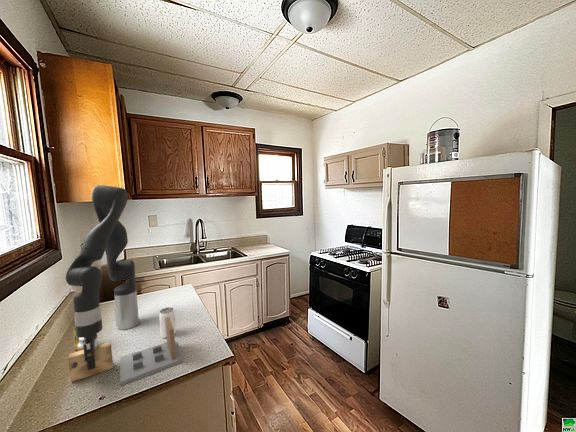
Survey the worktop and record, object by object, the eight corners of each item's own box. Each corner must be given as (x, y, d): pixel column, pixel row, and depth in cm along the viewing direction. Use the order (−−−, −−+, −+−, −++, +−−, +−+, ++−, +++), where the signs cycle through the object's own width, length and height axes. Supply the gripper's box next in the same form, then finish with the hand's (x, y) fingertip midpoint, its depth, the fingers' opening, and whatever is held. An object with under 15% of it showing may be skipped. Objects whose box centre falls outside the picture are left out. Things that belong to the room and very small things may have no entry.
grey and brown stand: (120, 385, 84) (117, 349, 83) (121, 359, 97) (118, 328, 96) (182, 361, 95) (180, 329, 94) (175, 342, 108) (173, 313, 107)
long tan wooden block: (70, 384, 85) (67, 359, 85) (72, 377, 89) (69, 353, 88) (112, 369, 92) (110, 346, 91) (112, 363, 95) (110, 341, 94)
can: (169, 339, 110) (168, 314, 109) (157, 338, 112) (155, 312, 111) (179, 331, 117) (177, 307, 116) (167, 330, 118) (165, 306, 117)
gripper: (100, 324, 85) (104, 368, 86) (102, 310, 97) (106, 348, 98) (71, 332, 81) (76, 378, 82) (77, 315, 93) (82, 356, 94)
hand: (92, 362), depth 90 cm, fingers open, 8 cm apart
